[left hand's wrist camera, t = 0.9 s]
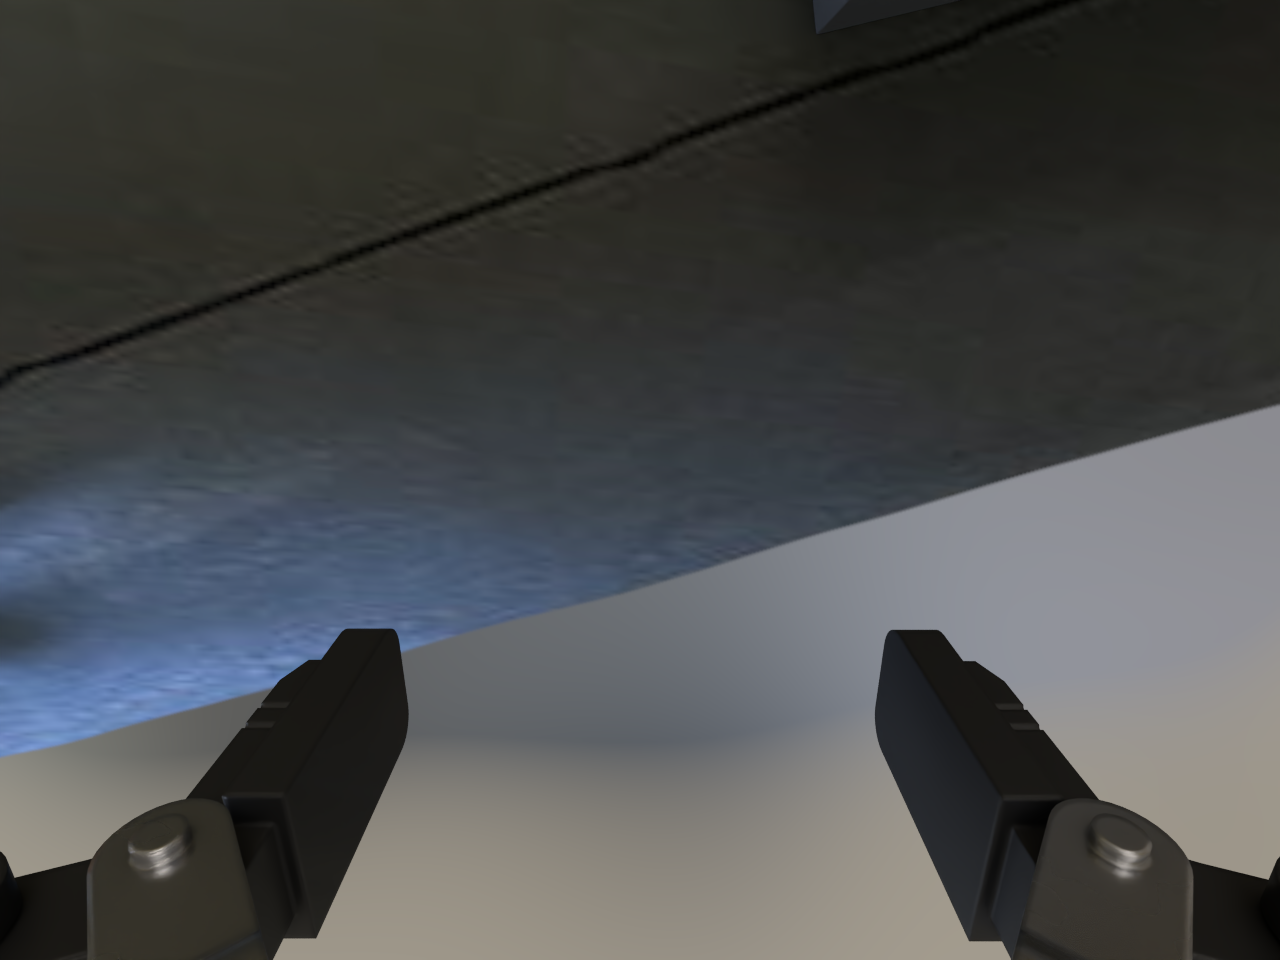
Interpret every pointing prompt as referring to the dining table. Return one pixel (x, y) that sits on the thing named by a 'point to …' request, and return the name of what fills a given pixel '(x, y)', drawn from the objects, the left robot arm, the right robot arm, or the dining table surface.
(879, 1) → the box
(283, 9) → the dining table surface
